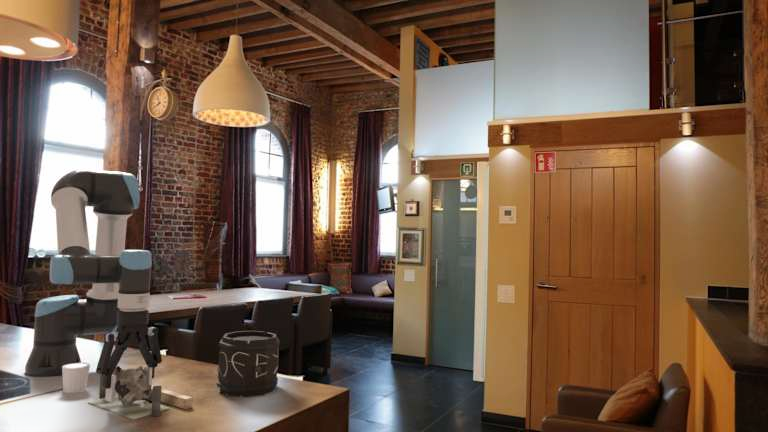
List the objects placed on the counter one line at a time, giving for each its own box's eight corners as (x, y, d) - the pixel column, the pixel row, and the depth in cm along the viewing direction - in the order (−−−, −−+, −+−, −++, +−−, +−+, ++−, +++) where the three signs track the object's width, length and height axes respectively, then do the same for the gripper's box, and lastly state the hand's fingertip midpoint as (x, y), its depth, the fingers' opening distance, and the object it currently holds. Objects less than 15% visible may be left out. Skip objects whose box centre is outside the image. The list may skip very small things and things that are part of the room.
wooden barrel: (222, 401, 147) (225, 343, 148) (210, 384, 163) (213, 331, 164) (286, 394, 155) (289, 339, 156) (269, 379, 171) (272, 329, 172)
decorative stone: (165, 399, 138) (157, 361, 137) (128, 415, 131) (120, 375, 130) (141, 387, 149) (133, 352, 148) (106, 401, 143) (98, 365, 142)
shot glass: (94, 388, 155) (95, 363, 155) (73, 395, 148) (74, 369, 148) (76, 385, 157) (77, 361, 157) (54, 391, 150) (56, 366, 151)
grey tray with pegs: (81, 401, 143) (83, 374, 143) (132, 389, 155) (133, 364, 156) (140, 422, 129) (142, 392, 129) (191, 407, 141) (193, 380, 142)
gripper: (99, 315, 130) (94, 409, 129) (179, 306, 149) (174, 389, 148) (82, 311, 134) (77, 403, 133) (162, 304, 153) (157, 384, 152)
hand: (128, 396), depth 140 cm, fingers closed on decorative stone, 10 cm apart
